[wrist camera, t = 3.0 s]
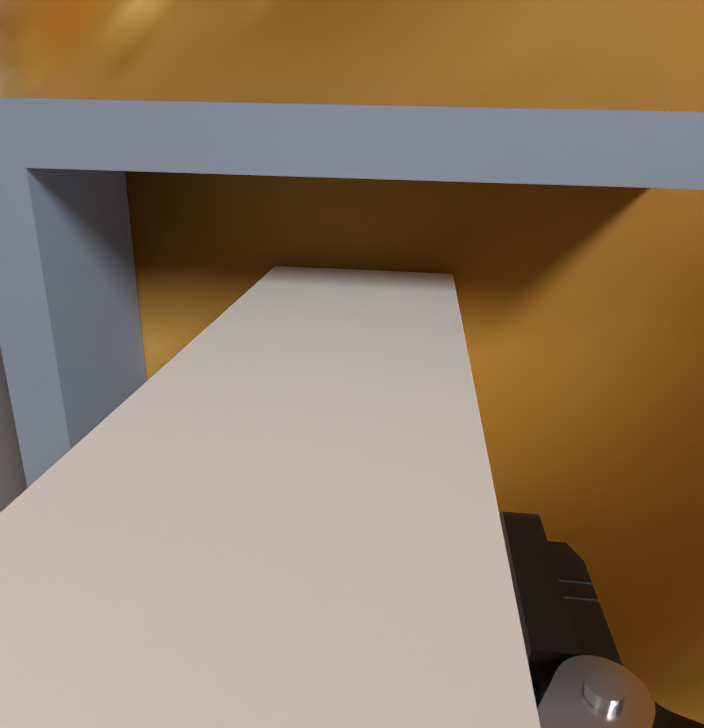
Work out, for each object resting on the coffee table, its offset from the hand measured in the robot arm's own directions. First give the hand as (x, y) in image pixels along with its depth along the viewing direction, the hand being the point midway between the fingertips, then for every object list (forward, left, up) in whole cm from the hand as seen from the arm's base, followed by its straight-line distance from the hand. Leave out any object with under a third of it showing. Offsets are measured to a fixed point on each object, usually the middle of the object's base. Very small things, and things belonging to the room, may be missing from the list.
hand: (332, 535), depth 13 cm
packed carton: (0, 0, -5) cm, 5 cm away
